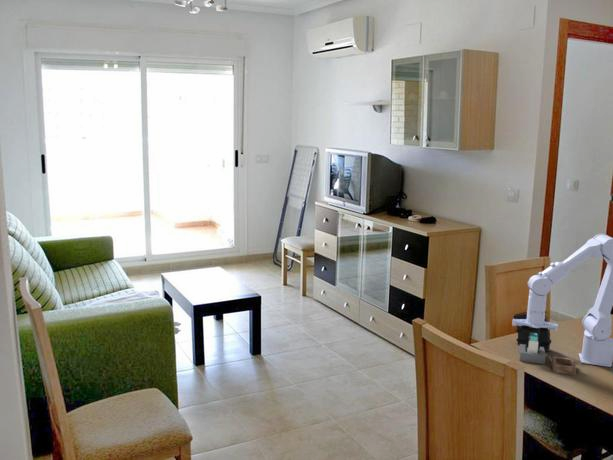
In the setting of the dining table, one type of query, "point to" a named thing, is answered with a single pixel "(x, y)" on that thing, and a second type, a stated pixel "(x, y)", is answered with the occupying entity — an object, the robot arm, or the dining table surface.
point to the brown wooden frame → (563, 365)
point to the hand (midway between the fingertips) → (532, 347)
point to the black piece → (521, 337)
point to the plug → (533, 343)
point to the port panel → (532, 355)
